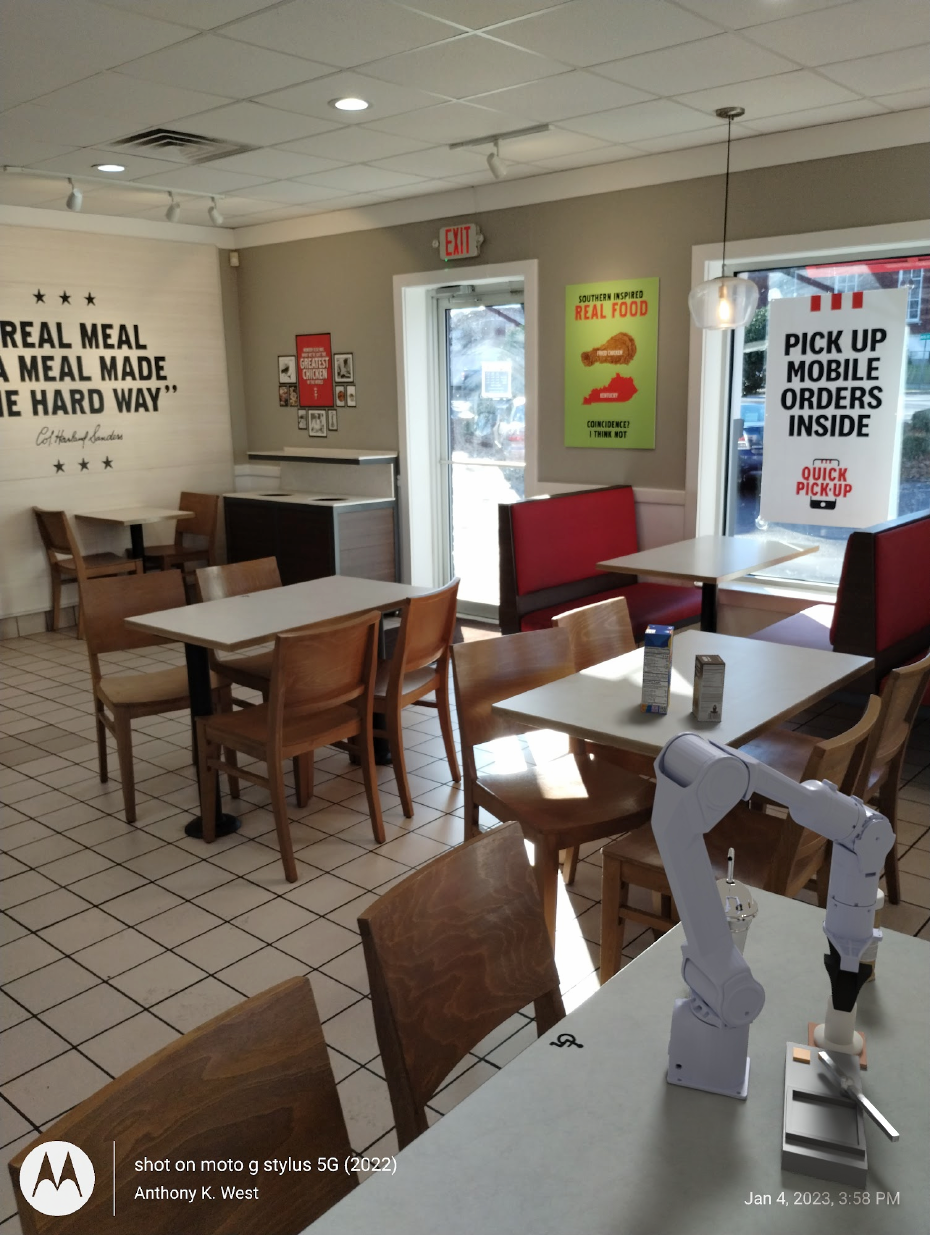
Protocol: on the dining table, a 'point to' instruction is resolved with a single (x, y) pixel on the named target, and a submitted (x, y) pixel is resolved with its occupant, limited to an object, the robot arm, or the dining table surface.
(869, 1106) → the clip
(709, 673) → the coffee box
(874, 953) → the sprinkles bottle
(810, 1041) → the mat
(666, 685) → the beverage box
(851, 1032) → the plug
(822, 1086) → the power strip
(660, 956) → the dining table surface
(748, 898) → the cup with straw
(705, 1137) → the dining table surface
